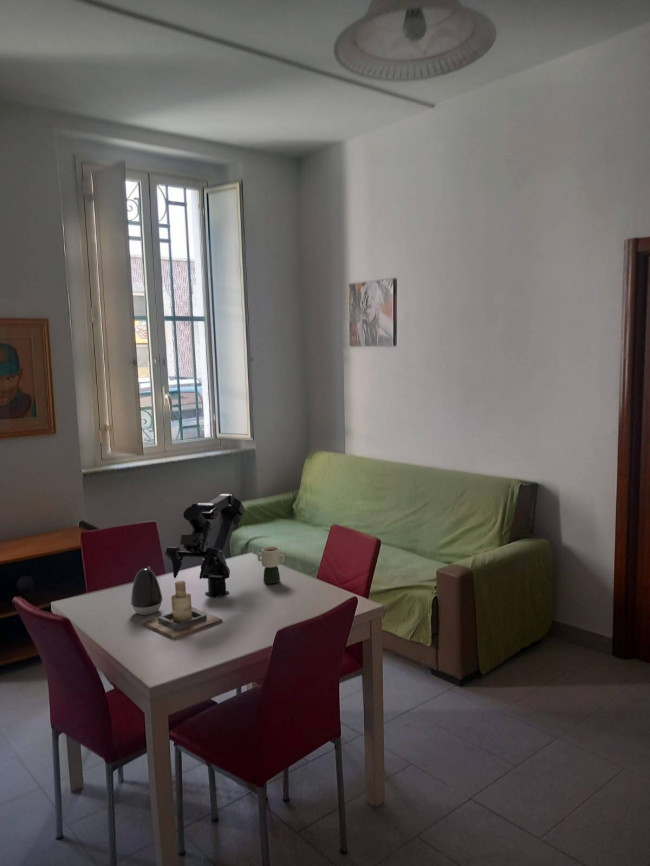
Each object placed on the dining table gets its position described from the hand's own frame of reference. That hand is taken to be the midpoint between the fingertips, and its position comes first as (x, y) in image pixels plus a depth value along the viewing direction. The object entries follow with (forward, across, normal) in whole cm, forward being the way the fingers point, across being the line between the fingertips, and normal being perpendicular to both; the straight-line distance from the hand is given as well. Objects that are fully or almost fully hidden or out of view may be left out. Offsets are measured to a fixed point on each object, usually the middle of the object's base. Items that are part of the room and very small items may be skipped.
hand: (187, 578), depth 215 cm
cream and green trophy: (-17, +15, +37) cm, 44 cm away
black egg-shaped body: (+8, -17, +11) cm, 22 cm away
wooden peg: (+12, 0, +6) cm, 13 cm away
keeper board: (+13, 0, +6) cm, 14 cm away
